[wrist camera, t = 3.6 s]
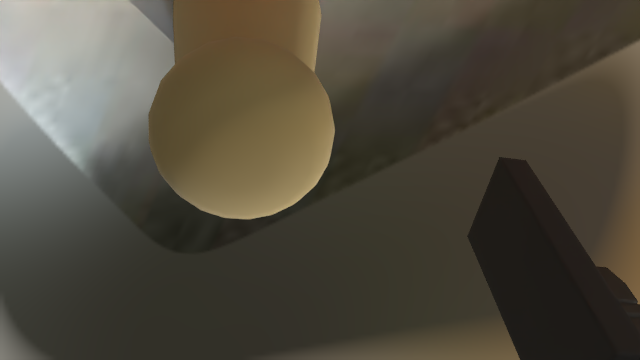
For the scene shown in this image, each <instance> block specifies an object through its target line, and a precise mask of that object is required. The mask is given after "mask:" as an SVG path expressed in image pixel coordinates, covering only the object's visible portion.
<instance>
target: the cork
mask: <svg viewBox="0 0 640 360" xmlns="http://www.w3.org/2000/svg"><path fill="white" fill-rule="evenodd" d="M320 22H321V11H320V5H319V0H173V30H174V53H175V65H174V66H173V67H172V69H171V70H170V71H169V72H168V73H167V74H166V75H165V77H164V78H163V79H162V80H161V82H160V85H159V88H158V90H157V93H156V95H155V98H154V101H153V103H152V106H151V109H150V112H149V144H150V149H151V152H152V155H153V157H154V160H155V162H156V165H157V167H158V170H159V173H160V174H161V175H162V177H163V178H164V179H165V180H166V181H167V183H168V184H169V185H170V186H171V187H172V188H173V190H174V191H175V192H176V193H177V194H178V195H179V196H181V197H182V198H183V199H185V200H186V201H188V202H189V203H191V204H193V205H194V206H196V207H197V208H199V209H200V210H202V211H205V212H208V213H211V214H214V215H217V216H221V217H224V218H237V219H252V218H258V217H263V216H268V215H273V214H275V213H277V212H279V211H281V210H283V209H285V208H287V207H289V206H291V205H293V204H295V203H296V202H297V201H299V200H300V199H301V198H302V197H303V196H304V195H305V194H306V193H308V192H309V191H310V190H311V189H312V188H313V187H314V186H315V185H316V184H317V182H318V181H319V179H320V177H321V176H322V174H323V172H324V170H325V169H326V167H327V165H328V163H329V159H330V155H331V150H332V144H333V139H334V134H335V128H334V122H333V117H332V111H331V106H330V101H329V97H328V95H327V93H326V91H325V90H324V88H323V86H322V85H321V83H320V81H319V79H318V78H317V76H316V74H315V73H314V70H315V62H316V54H317V46H318V38H319V30H320Z"/></svg>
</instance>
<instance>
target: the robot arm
mask: <svg viewBox="0 0 640 360" xmlns="http://www.w3.org/2000/svg"><path fill="white" fill-rule="evenodd" d="M468 238H469V241H470V243H471V246H472V248H473V250H474V252H475V255H476V257H477V260H478V262H479V264H480V267H481V269H482V271H483V274H484V276H485V278H486V281H487V283H488V285H489V288H490V290H491V292H492V295H493V297H494V299H495V302H496V304H497V306H498V309H499V311H500V313H501V316H502V318H503V320H504V322H505V325H506V327H507V330H508V332H509V334H510V337H511V339H512V341H513V344H514V346H515V348H516V351H517V353H518V355H519V358H520V360H640V305H639V304H637V302H638V301H637V299H636V298H635V297H634V295H633V294H632V292H631V291H630V289H629V288H628V287H627V285H626V284H625V283H624V282H623V281H622V280H621V279H620V278H618V277H617V276H616V275H615V274H613V273H612V272H611V271H610V270H609V269H608V268H606V267H596V266H595V264H594V263H593V261H592V260H591V258H590V257H589V255H588V254H587V252H586V251H585V249H584V248H583V246H582V245H581V243H580V242H579V240H578V239H577V237H576V236H575V234H574V233H573V231H572V230H571V228H570V227H569V225H568V224H567V222H566V221H565V219H564V218H563V216H562V214H561V213H560V212H559V210H558V208H557V207H556V205H555V204H554V202H553V201H552V199H551V198H550V196H549V195H548V193H547V192H546V190H545V189H544V187H543V186H542V184H541V183H540V181H539V179H538V178H537V176H536V175H535V173H534V172H533V170H532V169H531V167H530V166H529V164H528V163H527V161H526V160H518V159H511V158H502V157H499V160H498V162H497V165H496V167H495V170H494V172H493V175H492V177H491V179H490V182H489V185H488V187H487V189H486V192H485V195H484V197H483V199H482V202H481V204H480V207H479V209H478V212H477V214H476V216H475V219H474V221H473V224H472V227H471V229H470V232H469V234H468Z"/></svg>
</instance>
